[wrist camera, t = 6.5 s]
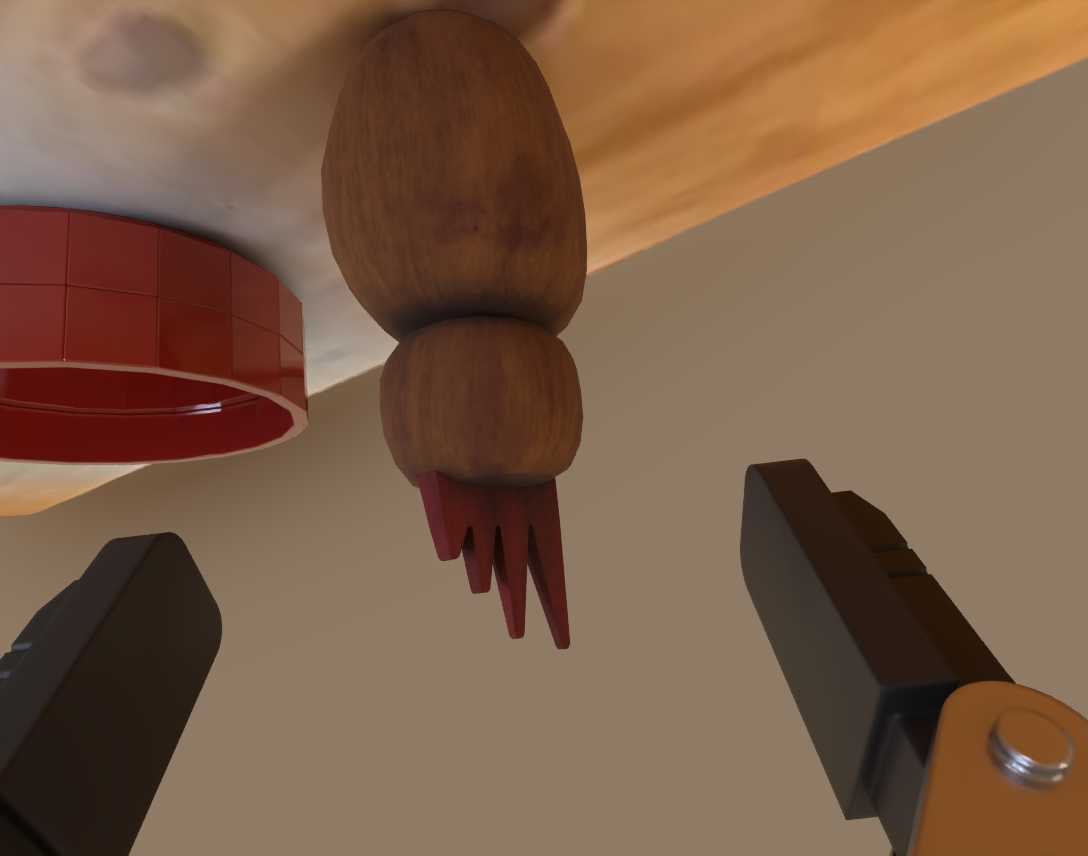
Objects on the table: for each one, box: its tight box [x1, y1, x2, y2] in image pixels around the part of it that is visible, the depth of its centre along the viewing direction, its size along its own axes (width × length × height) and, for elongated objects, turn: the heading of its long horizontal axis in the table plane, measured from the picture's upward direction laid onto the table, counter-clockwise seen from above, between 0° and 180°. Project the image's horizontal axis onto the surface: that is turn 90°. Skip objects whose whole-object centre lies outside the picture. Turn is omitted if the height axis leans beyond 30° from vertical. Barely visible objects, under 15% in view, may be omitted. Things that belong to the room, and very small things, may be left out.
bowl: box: [0, 206, 309, 465], centre depth 27 cm, size 15×15×6 cm
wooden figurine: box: [321, 10, 587, 649], centre depth 16 cm, size 7×6×15 cm
